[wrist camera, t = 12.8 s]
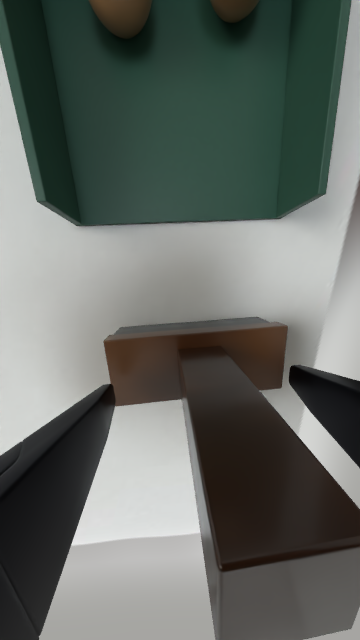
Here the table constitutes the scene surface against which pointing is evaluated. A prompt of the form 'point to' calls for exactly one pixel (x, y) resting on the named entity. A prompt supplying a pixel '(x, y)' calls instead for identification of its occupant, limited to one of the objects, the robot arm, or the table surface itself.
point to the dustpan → (176, 108)
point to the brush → (249, 478)
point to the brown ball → (233, 9)
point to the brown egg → (122, 15)
